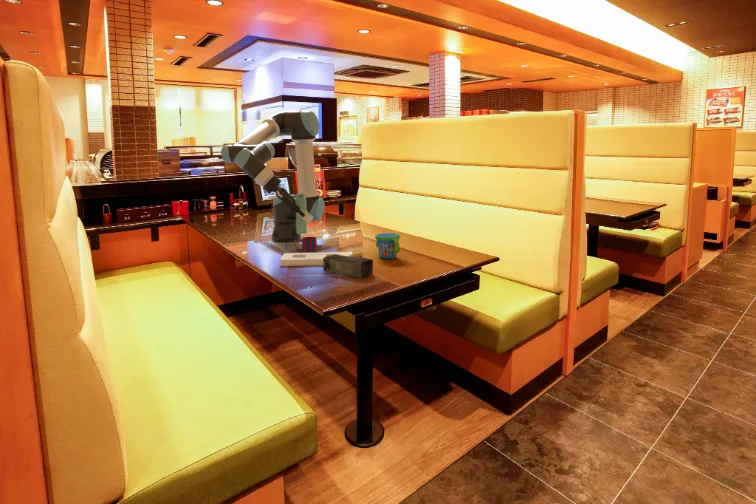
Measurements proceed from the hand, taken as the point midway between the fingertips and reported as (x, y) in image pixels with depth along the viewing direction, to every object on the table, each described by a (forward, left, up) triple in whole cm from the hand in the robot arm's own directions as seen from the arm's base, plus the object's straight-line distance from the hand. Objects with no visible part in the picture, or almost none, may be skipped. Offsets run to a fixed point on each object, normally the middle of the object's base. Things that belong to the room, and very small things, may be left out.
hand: (310, 220), depth 199 cm
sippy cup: (-7, +33, -18) cm, 38 cm away
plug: (0, -4, -5) cm, 6 cm away
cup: (-20, -4, -18) cm, 27 cm away
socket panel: (0, +2, -18) cm, 18 cm away
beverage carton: (+17, +15, -19) cm, 29 cm away
